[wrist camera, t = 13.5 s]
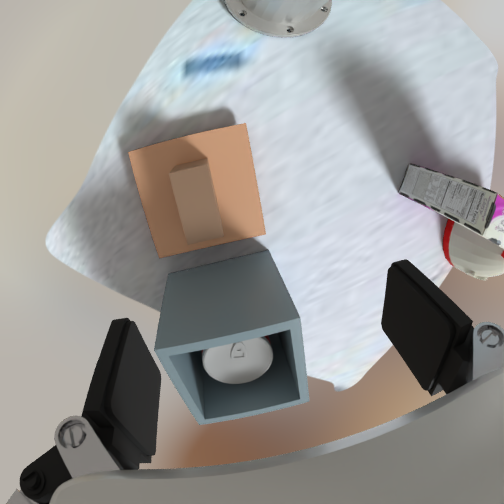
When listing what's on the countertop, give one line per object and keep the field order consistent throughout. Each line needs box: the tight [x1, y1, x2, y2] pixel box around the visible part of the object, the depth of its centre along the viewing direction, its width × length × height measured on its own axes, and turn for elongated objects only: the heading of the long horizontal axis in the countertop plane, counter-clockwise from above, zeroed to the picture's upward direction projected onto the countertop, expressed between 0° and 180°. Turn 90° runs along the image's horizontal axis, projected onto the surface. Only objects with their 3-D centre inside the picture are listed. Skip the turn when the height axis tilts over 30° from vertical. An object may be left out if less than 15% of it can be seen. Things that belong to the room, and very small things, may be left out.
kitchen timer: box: [443, 218, 504, 280], centre depth 35 cm, size 14×14×15 cm
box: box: [154, 250, 309, 425], centre depth 33 cm, size 13×13×14 cm
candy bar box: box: [399, 164, 504, 249], centre depth 29 cm, size 11×5×16 cm, turn 74°
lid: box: [128, 123, 266, 258], centre depth 30 cm, size 13×13×8 cm
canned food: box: [202, 335, 273, 384], centre depth 35 cm, size 8×8×11 cm
